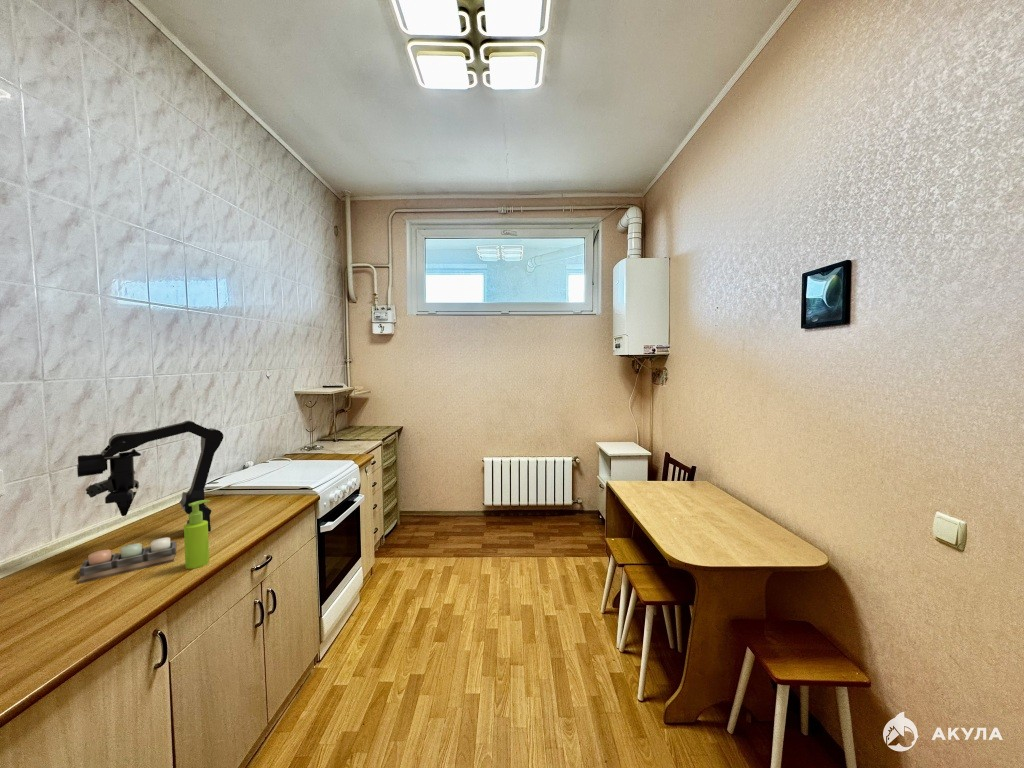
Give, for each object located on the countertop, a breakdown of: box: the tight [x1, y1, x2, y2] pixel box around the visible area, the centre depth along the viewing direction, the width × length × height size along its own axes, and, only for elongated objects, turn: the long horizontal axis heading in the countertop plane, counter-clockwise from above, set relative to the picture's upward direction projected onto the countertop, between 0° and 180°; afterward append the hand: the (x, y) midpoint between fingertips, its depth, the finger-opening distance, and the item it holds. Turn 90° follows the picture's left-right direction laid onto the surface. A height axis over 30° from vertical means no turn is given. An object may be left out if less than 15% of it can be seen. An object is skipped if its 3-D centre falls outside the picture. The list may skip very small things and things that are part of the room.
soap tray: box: [77, 540, 178, 584], centre depth 125 cm, size 22×14×3 cm, turn 128°
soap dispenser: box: [183, 499, 211, 570], centre depth 124 cm, size 6×7×20 cm
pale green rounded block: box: [120, 542, 143, 559], centre depth 125 cm, size 5×5×4 cm
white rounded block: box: [150, 537, 171, 553], centre depth 129 cm, size 5×5×4 cm
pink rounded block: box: [87, 549, 112, 566], centre depth 120 cm, size 5×5×4 cm
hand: (124, 515), depth 133 cm, fingers closed
